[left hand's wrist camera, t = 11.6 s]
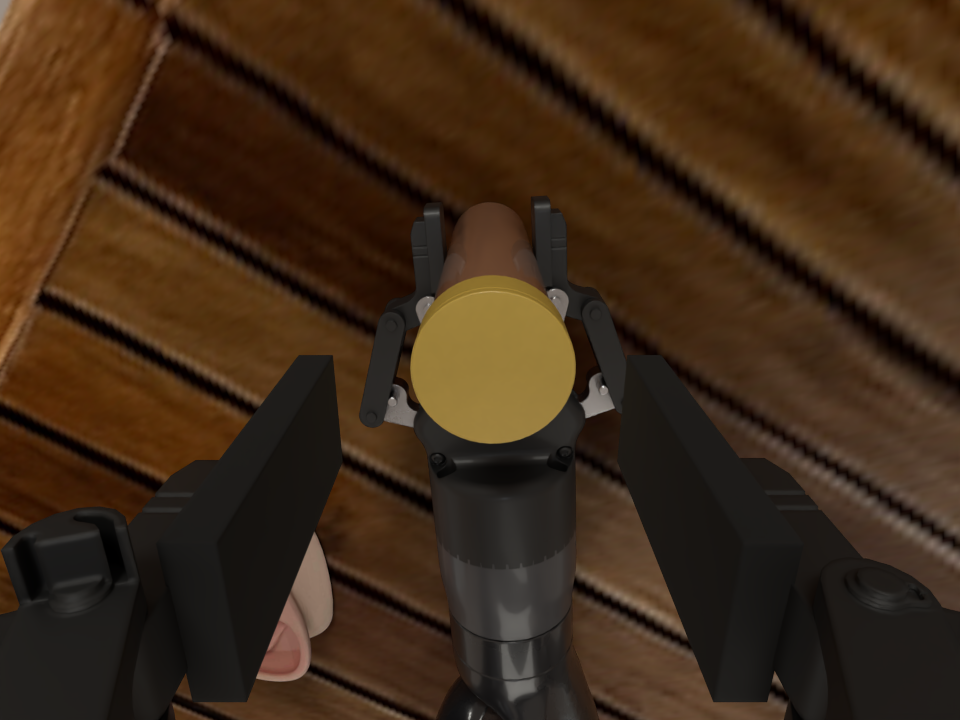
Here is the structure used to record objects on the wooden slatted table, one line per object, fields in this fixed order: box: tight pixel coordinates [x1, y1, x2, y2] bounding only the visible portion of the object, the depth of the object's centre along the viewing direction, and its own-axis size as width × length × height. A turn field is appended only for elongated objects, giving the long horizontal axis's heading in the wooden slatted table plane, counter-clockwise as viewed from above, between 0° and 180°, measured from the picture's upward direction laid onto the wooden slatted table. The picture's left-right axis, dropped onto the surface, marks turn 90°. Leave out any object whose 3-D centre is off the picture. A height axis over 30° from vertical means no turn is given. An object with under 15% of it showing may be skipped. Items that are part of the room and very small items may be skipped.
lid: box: [410, 275, 576, 444], centre depth 17 cm, size 4×4×2 cm
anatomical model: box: [256, 532, 333, 681], centre depth 40 cm, size 13×4×12 cm
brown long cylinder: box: [433, 202, 549, 302], centre depth 25 cm, size 4×4×18 cm
